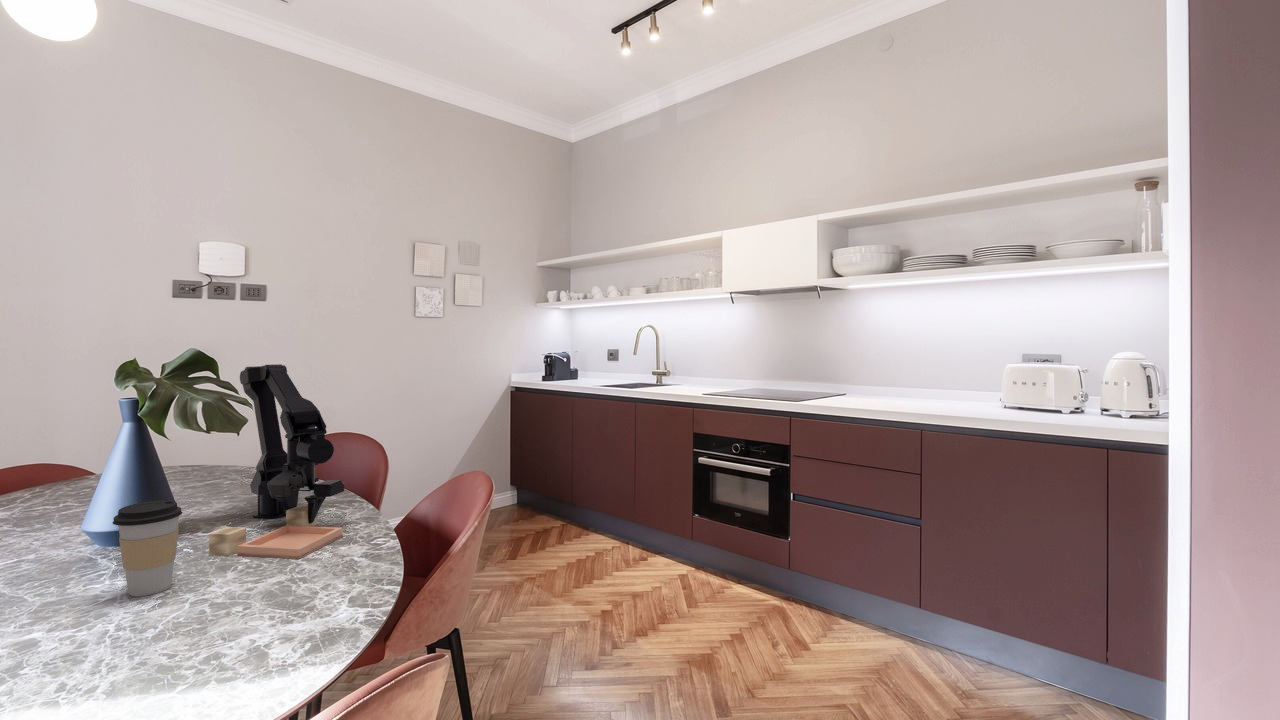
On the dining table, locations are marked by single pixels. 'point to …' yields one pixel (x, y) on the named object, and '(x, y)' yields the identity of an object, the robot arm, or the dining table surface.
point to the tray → (290, 542)
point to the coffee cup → (148, 545)
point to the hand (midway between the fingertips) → (301, 522)
